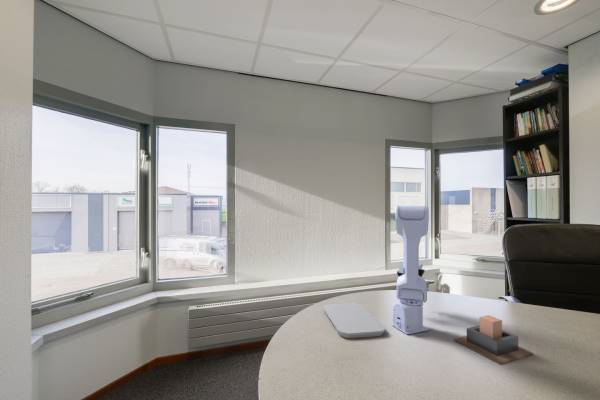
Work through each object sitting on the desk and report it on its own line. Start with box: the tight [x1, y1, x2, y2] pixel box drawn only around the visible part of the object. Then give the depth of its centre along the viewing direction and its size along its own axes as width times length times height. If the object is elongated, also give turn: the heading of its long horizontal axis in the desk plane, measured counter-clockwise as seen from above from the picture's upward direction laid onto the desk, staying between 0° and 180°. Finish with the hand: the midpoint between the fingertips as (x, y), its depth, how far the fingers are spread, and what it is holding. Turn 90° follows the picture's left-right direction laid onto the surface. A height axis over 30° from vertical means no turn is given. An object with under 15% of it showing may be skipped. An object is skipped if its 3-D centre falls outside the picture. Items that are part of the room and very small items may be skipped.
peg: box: [479, 314, 503, 339], centre depth 83 cm, size 4×4×8 cm
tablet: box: [322, 302, 386, 339], centre depth 101 cm, size 16×26×2 cm, turn 9°
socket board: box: [454, 324, 534, 365], centre depth 83 cm, size 14×14×4 cm
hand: (411, 288), depth 110 cm, fingers open, 7 cm apart
